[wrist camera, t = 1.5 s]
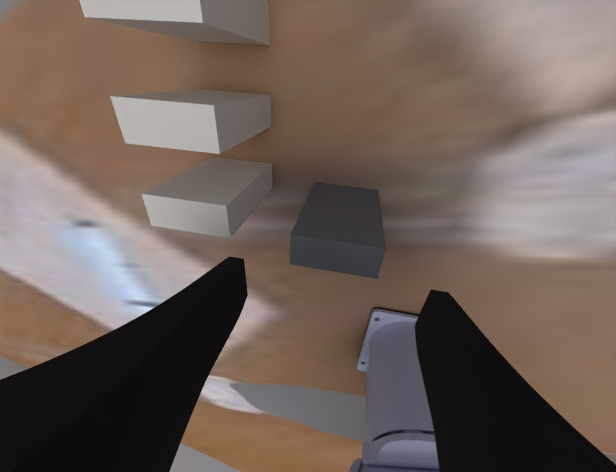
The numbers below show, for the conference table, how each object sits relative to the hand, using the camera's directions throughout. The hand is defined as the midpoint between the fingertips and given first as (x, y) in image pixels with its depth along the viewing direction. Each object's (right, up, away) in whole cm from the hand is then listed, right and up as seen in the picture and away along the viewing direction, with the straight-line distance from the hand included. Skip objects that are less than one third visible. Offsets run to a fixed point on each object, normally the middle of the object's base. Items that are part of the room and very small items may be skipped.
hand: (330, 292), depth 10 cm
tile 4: (-5, +14, +4) cm, 15 cm away
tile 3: (-5, +10, +6) cm, 13 cm away
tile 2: (-6, +7, +8) cm, 12 cm away
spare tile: (+2, +5, +8) cm, 10 cm away
